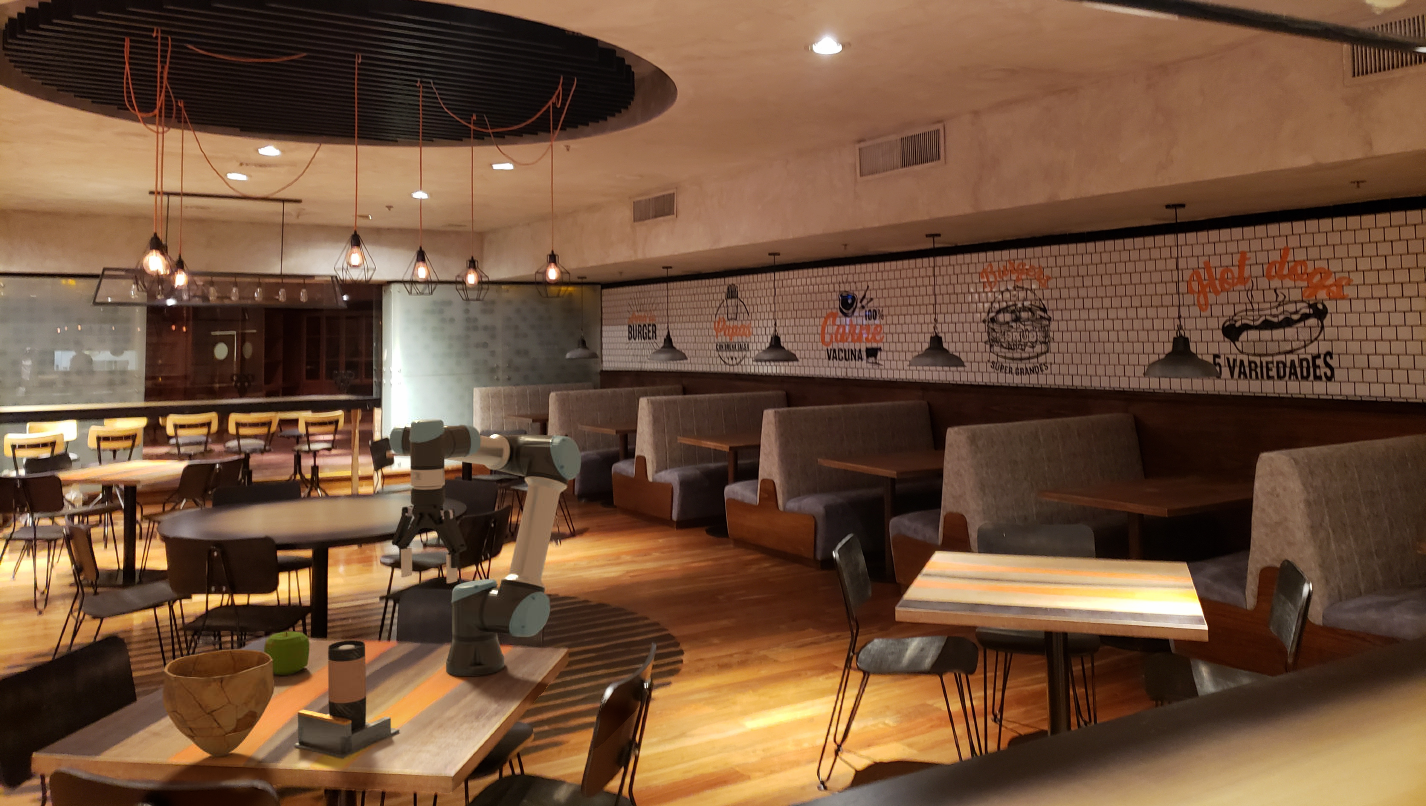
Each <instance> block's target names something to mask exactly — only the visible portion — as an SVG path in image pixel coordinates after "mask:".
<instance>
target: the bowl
mask: <svg viewBox="0 0 1426 806" xmlns="http://www.w3.org/2000/svg"><path fill="white" fill-rule="evenodd" d="M272 661H273V659H272V658H271V657H270V655H268V654H266V653H264V651H261V650H253V649H251V650H250V649H238V648H237V649H220V650H216V651H208V652H202V653H199V654H191V655H186V656H183V657H182V656H181V657H178V658H175V659H173V660H171V661H170V662H168V663H167V664H165V667H164V668H163V674H164V679H163V688H162V689H163V690H162V701H163V702H162V704H163V707H164V710H165V712H166V713H167V715H168V717H169V719H170V720H171V722H172V723H173V724H174V726H175V727H176V729H177V730H178V731H179V732H180V733H181V734H182V735H183V736H185V737H186V738H187V739H189V740H190V741H191V742H192V743H193V744H194V745H195V746H196V747H198V748H199V749H200V750H202V752H204V753H206V754H208V755H210V756H212V757H221V758H222V757H224V756H227V755H228V754H230V753H231V752H233V751H235V750H236V749H237V748H238V747H239V746H240V745H242V743H243V742H244V741H245V740H246V739H247V737H248V736H249V735H250V733H251V732H252V731H253V730H254V728H255V726H256V725H257V723H258V722H260V719H261V718H262V716H263V714H264V713H265V712H266V711H265V710H266V709H267V707H268V705H269V704H270V702H271V699H272V697H273V695H274V693H275V691H274V690H275V681H274V673H273V663H272Z"/></svg>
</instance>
